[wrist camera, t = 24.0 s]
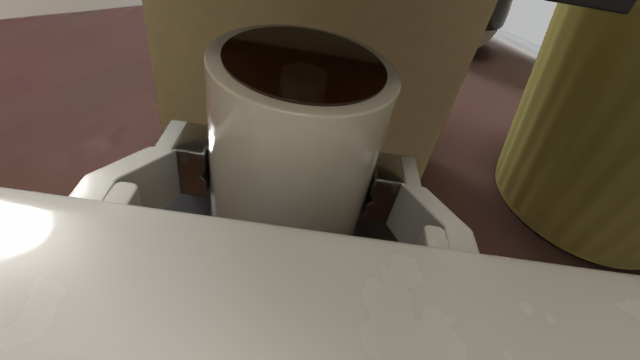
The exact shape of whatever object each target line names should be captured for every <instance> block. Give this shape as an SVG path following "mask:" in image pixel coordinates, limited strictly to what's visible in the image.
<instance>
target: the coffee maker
mask: <svg viewBox="0 0 640 360" xmlns="http://www.w3.org/2000/svg"><path fill="white" fill-rule="evenodd" d="M546 1H552V2H557V3H563V4H568V5H574V6H580V7H585V8H591V9H596V10H602V11H607V12H613V13H618V14H628V13H629V12H630V11H631V9H632V8H633V6H634V5H635V3H636V2H637V0H546ZM497 2H498V0H142V3H143V10H144V16H145V23H146V30H147V37H148V43H149V50H150V57H151V64H152V70H153V77H154V84H155V91H156V97H157V104H158V111H159V118H160V124H161V131H162V134H163V132H164V131H165V129H166V128H167V126H168V125H169V123H170V121H172V120H178V121H185V122H191V123H197V124H202V125H207V118H206V97H205V77H204V54H205V51H206V49H207V47H208V46H209V44H210V43H211V42H212V41H213V40H215V39H216V38H217V37H219V36H221V35H223V34H224V33H227V32H229V31H232V30H235V29H239V28H243V27H248V26H256V25H269V24H283V25H297V26H305V27H312V28H317V29H322V30H326V31H330V32H334V33H337V34H341V35H344V36H346V37H349V38H352V39H354V40H357V41H359V42H361V43H363V44H365V45H367V46H369V47H371V48H373V49H374V50H376V51H378V52H379V53H380V54H382V55H383V56H384V57H386V58H387V59H388V60H389V61H390V62H391V63H392V64H393V65H394V67H395V68H396V70H397V71H398V73H399V76H400V78H401V90H400V94H399V97H398V100H397V103H396V106H395V109H394V112H393V115H392V119H391V122H390V125H389V128H388V131H387V134H386V137H385V140H384V143H383V146H382V149H381V152H382V153H389V154H396V155H407V156H414V157H415V160H416V164H417V168H418V173H419V177H420V180H421V177H422V175H423V173H424V170H425V168H426V166H427V163H428V161H429V159H430V156H431V154H432V152H433V150H434V147H435V145H436V143H437V140H438V138H439V136H440V133H441V131H442V129H443V126H444V124H445V122H446V120H447V117H448V115H449V113H450V110H451V108H452V106H453V103H454V101H455V99H456V96H457V94H458V92H459V90H460V87H461V85H462V83H463V80H464V78H465V76H466V73H467V71H468V69H469V66H470V64H471V62H472V60H473V57H474V55H475V53H476V50H477V48H478V46H479V43H480V41H481V39H482V37H483V34H484V32H485V30H486V27H487V25H488V23H489V20H490V18H491V16H492V13H493V11H494V9H495V7H496V4H497ZM163 210H170V211H177V212H184V213H192V214H199V215H206V216H211V200H210V190H209V192H208V195H207V197H205V196H196V195H188V194H181V195H180V196H179V197H178V198H176V199H175V200H174V201H172V202H171V203H170V204H168V205H167V206H166V207H164V208H163ZM354 236H358V237H365V238H372V239H379V240H387V241H394V242H399V241H398V240H397V239H396V237H395V236H394V234H393V233H392V231H391V230H390V229H389V227H388V226H387V224H386V223H385V222H379V221H373V220H367V219H362V211H361V214H360V217H359V220H358V224H357V227H356V230H355V233H354Z"/></svg>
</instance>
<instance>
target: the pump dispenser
mask: <svg viewBox="0 0 640 360" xmlns="http://www.w3.org/2000/svg"><path fill="white" fill-rule="evenodd" d="M511 4H512V0H498V2H497V4H496V7H495V9H494V11H493V13H492V16H491V18H490V20H489V23H488V25H487V27H486V30H485V32H484V34H483V37H482V39H481V41H480V43H479V46H478V48H479V47H481V46H483V45H484V44H485V43H487V42H488V41H489V40H490V39H491V38H492V37H493V35H494V34H495V33H496V31H497V30H498V29H500V28H501V27H502V26H503V25H504V22H505V20H506V18H507V16H508V13H509V10H510V6H511Z"/></svg>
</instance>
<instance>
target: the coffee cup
mask: <svg viewBox="0 0 640 360" xmlns="http://www.w3.org/2000/svg"><path fill="white" fill-rule="evenodd" d="M204 77H205V97H206V118H207V138H208V159H209V180H210V200H211V216H213V217H220V218H228V219H235V220H242V221H249V222H257V223H264V224H271V225H278V226H285V227H293V228H300V229H307V230H314V231H322V232H329V233H336V234H343V235H350V236H354V233H355V230H356V227H357V224H358V220H359V217H360V214H361V211H362V208H363V205H364V202H365V199H366V196H367V193H368V190H369V186H370V183H371V180H372V177H373V174H374V171H375V168H376V165H377V162H378V159H379V156H380V152H381V149H382V146H383V143H384V140H385V137H386V134H387V131H388V128H389V125H390V122H391V119H392V115H393V112H394V109H395V106H396V103H397V100H398V97H399V94H400V90H401V78H400V76H399V73H398V71H397V70H396V68H395V67H394V65H393V64H392V63H391V62H390V61H389V60H388V59H387V58H386V57H384V56H383V55H382V54H380V53H379V52H378V51H376V50H374V49H373V48H371V47H369V46H367V45H365V44H363V43H361V42H359V41H357V40H354V39H352V38H349V37H346V36H344V35H341V34H337V33H334V32H330V31H326V30H322V29H317V28H312V27H305V26H297V25H283V24H269V25H256V26H248V27H243V28H239V29H235V30H232V31H229V32H227V33H224V34H223V35H221V36H219V37H217V38H216V39H215V40H213V41H212V42H211V43H210V44H209V46H208V47H207V49H206V51H205V54H204Z"/></svg>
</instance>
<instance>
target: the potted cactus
mask: <svg viewBox="0 0 640 360" xmlns="http://www.w3.org/2000/svg"><path fill="white" fill-rule="evenodd" d="M495 179H496V184H497V187H498V190H499V192H500V194H501V196H502V198H503V199H504V201H505V202H506V203H507V205H508V206H509V207H510V209H511V210H512V211H513V212H514V213H515V214H516V215H517V216H518V217H519V218H520V219H521V220H522V221H523V222H524V223H525V224H526V225H527V226H529V227H530V228H531V229H532V230H533V231H535V232H536V233H537V234H539V235H540V236H542V237H543V238H544V239H546V240H548V241H549V242H551V243H552V244H554V245H555V246H557V247H559V248H561V249H563V250H565V251H567V252H569V253H571V254H573V255H575V256H577V257H580V258H582V259H585V260H587V261H590V262H592V263H596V264H599V265H603V266H606V267H611V268H616V269H624V270H640V0H637V2H636V3H635V5H634V6H633V8H632V9H631V11H630V12H629V13H628V14H618V13H613V12H607V11H602V10H596V9H591V8H585V7H580V6H574V5H568V4H563V3H557V5H556V8H555V10H554V13H553V16H552V19H551V21H550V24H549V27H548V29H547V32H546V35H545V37H544V40H543V43H542V45H541V48H540V50H539V53H538V56H537V58H536V61H535V64H534V66H533V69H532V72H531V74H530V77H529V80H528V82H527V85H526V88H525V90H524V93H523V96H522V98H521V101H520V103H519V106H518V109H517V111H516V114H515V117H514V119H513V122H512V125H511V127H510V130H509V133H508V135H507V138H506V141H505V143H504V146H503V148H502V151H501V154H500V156H499V159H498V162H497V167H496V172H495Z"/></svg>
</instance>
